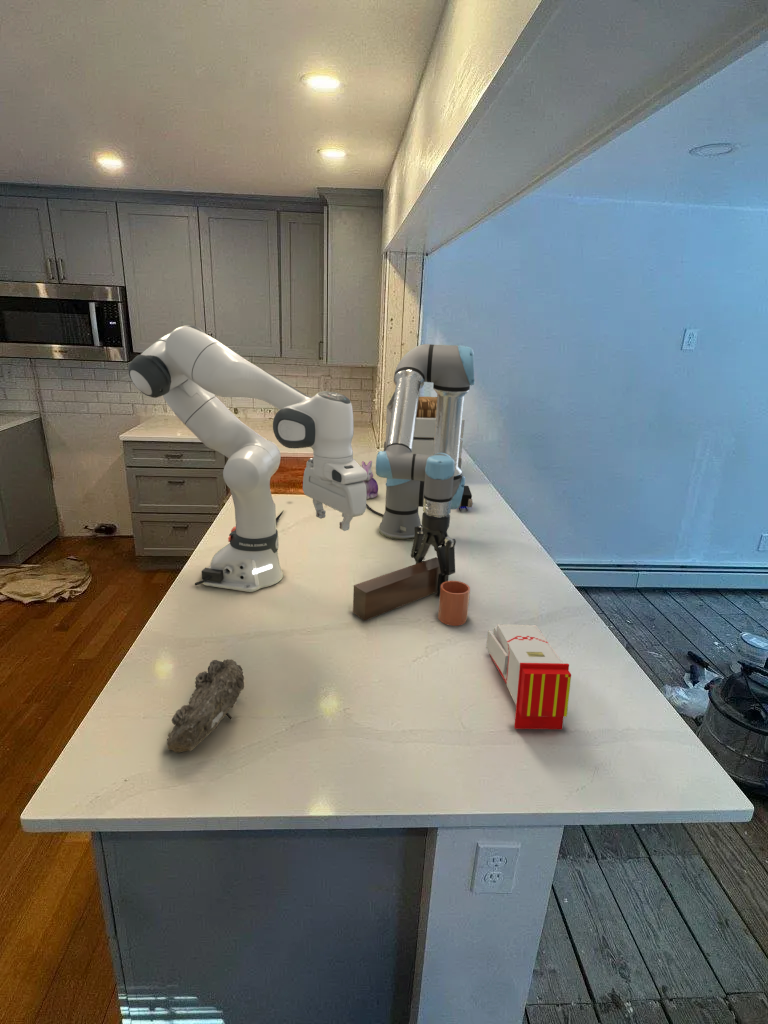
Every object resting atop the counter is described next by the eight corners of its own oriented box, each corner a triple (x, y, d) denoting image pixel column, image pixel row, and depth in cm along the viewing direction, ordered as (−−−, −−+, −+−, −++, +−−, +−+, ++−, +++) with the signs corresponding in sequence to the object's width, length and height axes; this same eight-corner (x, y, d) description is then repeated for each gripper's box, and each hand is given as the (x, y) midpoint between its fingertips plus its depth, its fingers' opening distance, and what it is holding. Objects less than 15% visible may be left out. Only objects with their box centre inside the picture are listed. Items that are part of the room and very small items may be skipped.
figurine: (363, 500, 232) (364, 465, 227) (352, 493, 240) (353, 459, 235) (383, 498, 236) (385, 463, 231) (372, 491, 244) (373, 457, 239)
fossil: (192, 660, 117) (244, 628, 112) (224, 691, 120) (276, 661, 115) (142, 746, 98) (202, 712, 93) (182, 779, 101) (242, 748, 96)
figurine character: (472, 516, 224) (466, 500, 237) (474, 499, 220) (469, 483, 234) (455, 515, 224) (451, 499, 237) (457, 498, 220) (452, 483, 234)
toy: (533, 609, 133) (580, 670, 104) (528, 661, 136) (573, 736, 107) (482, 608, 133) (514, 669, 103) (478, 661, 135) (509, 735, 106)
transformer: (382, 463, 289) (386, 382, 275) (445, 464, 293) (451, 384, 279) (390, 482, 257) (394, 392, 243) (460, 483, 261) (468, 394, 247)
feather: (290, 505, 227) (293, 501, 226) (273, 528, 200) (276, 524, 200) (286, 502, 226) (289, 498, 226) (269, 525, 200) (272, 521, 199)
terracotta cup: (432, 616, 147) (434, 585, 144) (451, 608, 152) (454, 578, 149) (453, 629, 142) (456, 597, 139) (472, 619, 146) (476, 588, 143)
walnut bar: (352, 612, 147) (353, 585, 144) (434, 581, 166) (436, 556, 163) (364, 620, 144) (365, 592, 141) (446, 588, 162) (448, 562, 160)
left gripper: (296, 457, 133) (296, 513, 137) (348, 479, 118) (347, 540, 123) (318, 454, 137) (318, 508, 141) (372, 474, 122) (370, 533, 127)
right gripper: (400, 505, 159) (396, 578, 166) (455, 527, 144) (447, 606, 152) (419, 500, 163) (414, 572, 171) (474, 521, 149) (466, 598, 157)
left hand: (332, 523), depth 132 cm, fingers open, 8 cm apart
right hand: (430, 588), depth 161 cm, fingers open, 8 cm apart
